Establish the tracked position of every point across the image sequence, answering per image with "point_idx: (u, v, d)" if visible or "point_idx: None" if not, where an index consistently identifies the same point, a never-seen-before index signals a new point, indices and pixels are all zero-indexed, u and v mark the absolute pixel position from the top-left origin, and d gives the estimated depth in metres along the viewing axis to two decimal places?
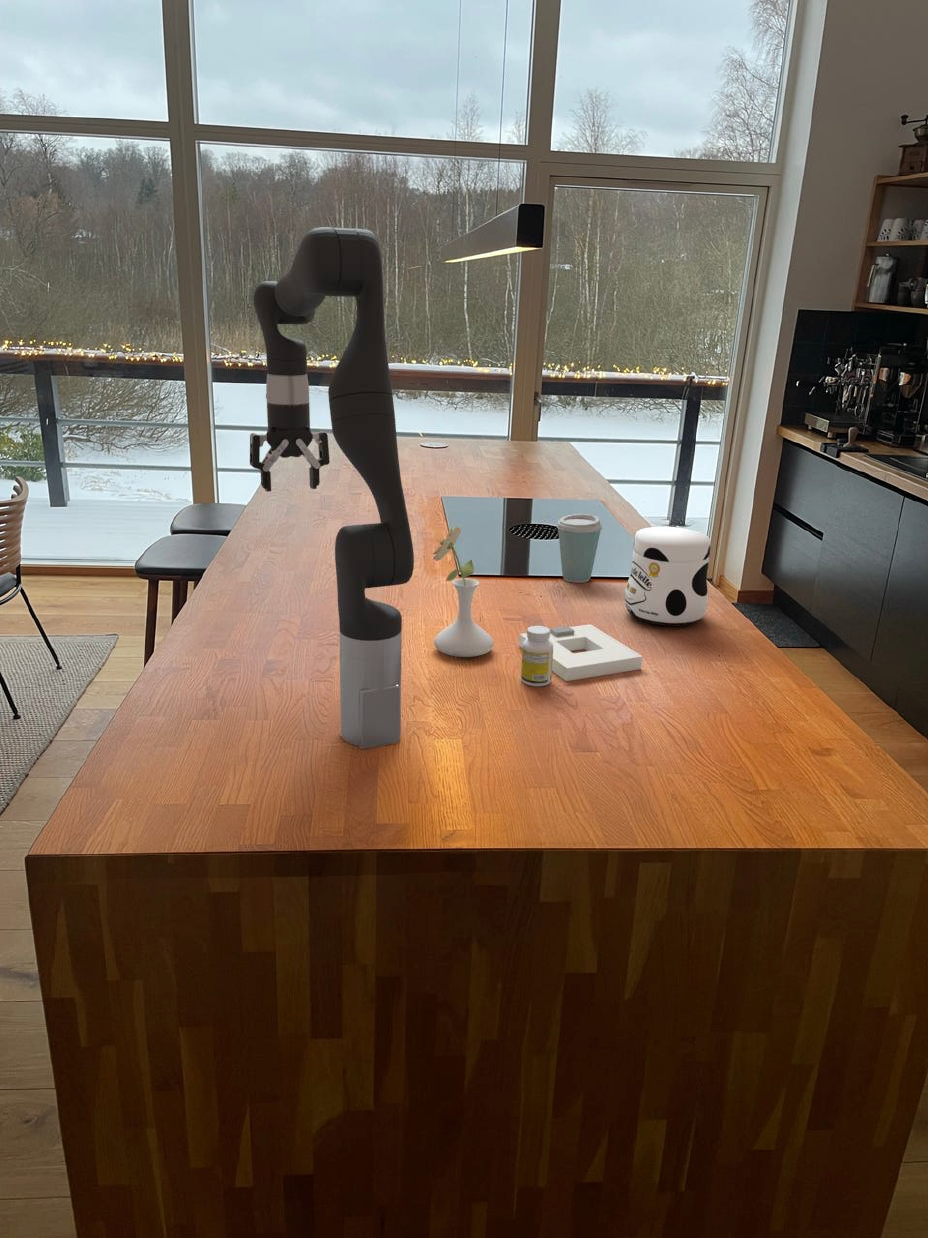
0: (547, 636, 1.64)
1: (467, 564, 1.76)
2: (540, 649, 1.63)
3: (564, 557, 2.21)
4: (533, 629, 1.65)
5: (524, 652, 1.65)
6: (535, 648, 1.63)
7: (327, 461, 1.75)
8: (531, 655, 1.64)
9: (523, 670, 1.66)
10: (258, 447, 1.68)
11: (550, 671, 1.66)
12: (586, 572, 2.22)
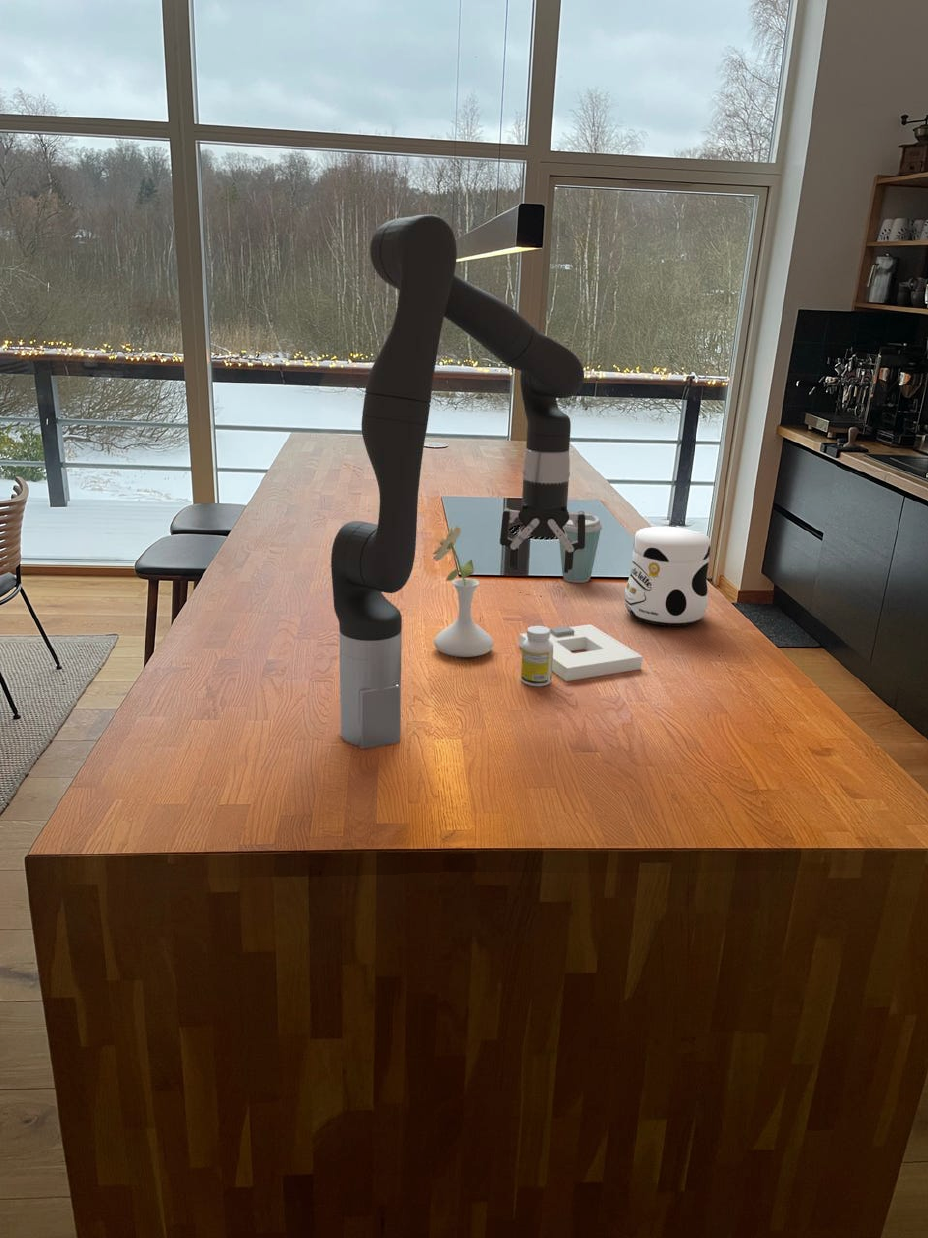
0: (547, 636, 1.64)
1: (467, 564, 1.76)
2: (540, 649, 1.63)
3: (564, 557, 2.21)
4: (533, 629, 1.65)
5: (524, 652, 1.65)
6: (535, 648, 1.63)
7: None
8: (531, 655, 1.64)
9: (523, 670, 1.66)
10: None
11: (550, 671, 1.66)
12: (586, 572, 2.22)
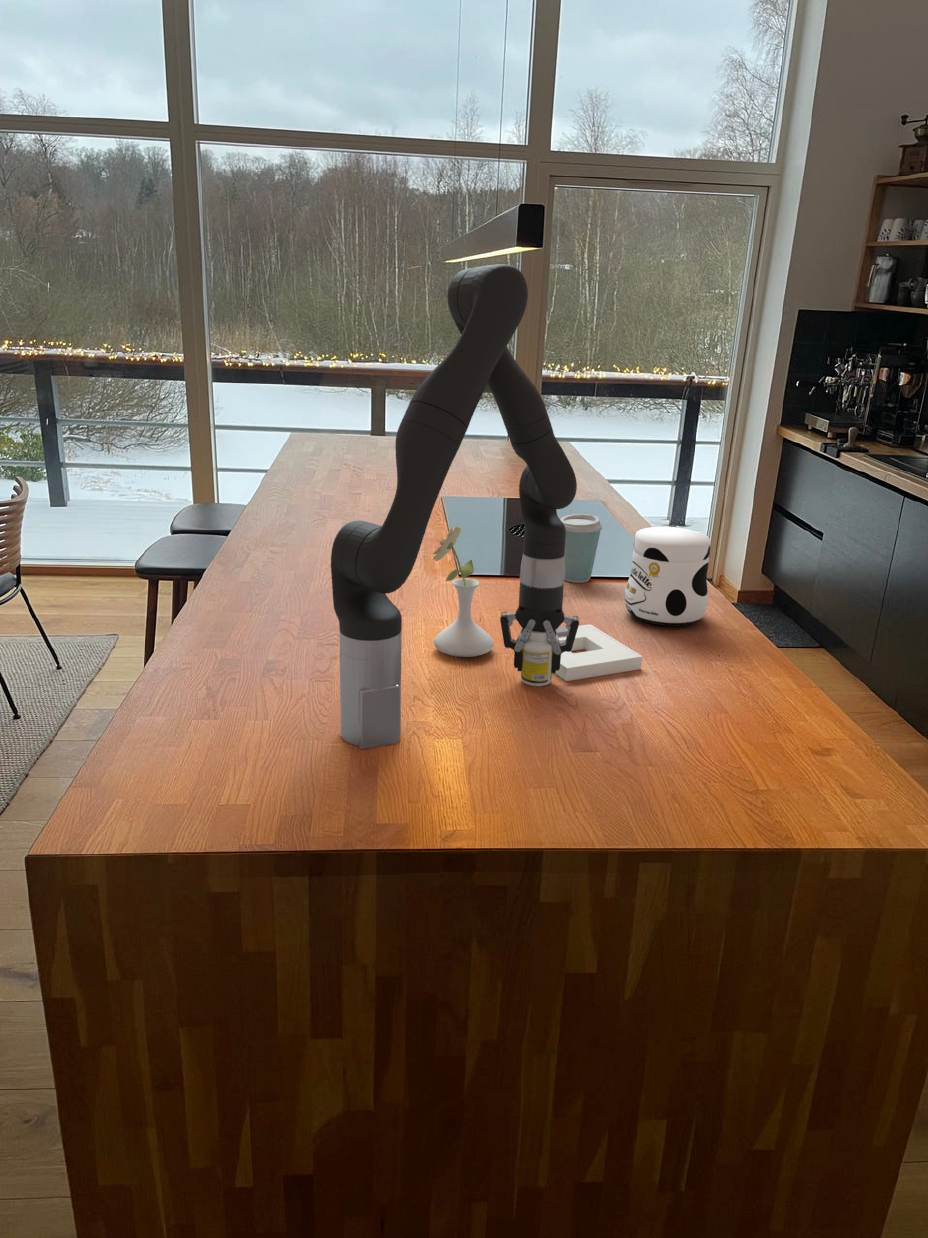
0: (547, 636, 1.64)
1: (467, 564, 1.76)
2: (540, 649, 1.63)
3: (564, 557, 2.21)
4: None
5: (524, 652, 1.65)
6: (535, 647, 1.63)
7: None
8: (531, 655, 1.64)
9: (523, 670, 1.66)
10: None
11: (550, 671, 1.66)
12: (586, 572, 2.22)
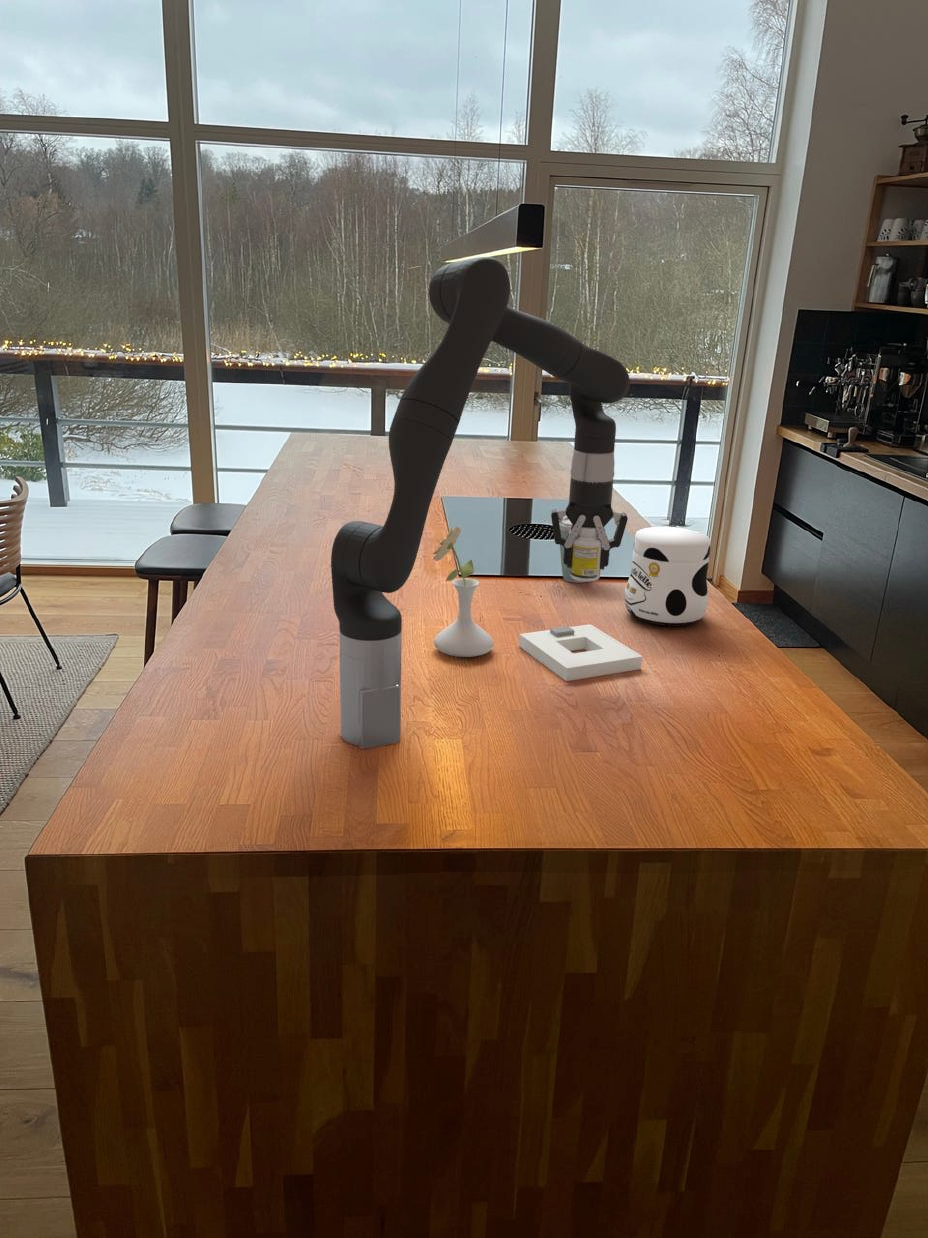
0: None
1: (467, 564, 1.76)
2: (590, 544, 1.69)
3: None
4: None
5: (574, 547, 1.71)
6: (585, 542, 1.69)
7: None
8: (581, 550, 1.69)
9: (573, 566, 1.72)
10: None
11: (599, 567, 1.72)
12: None
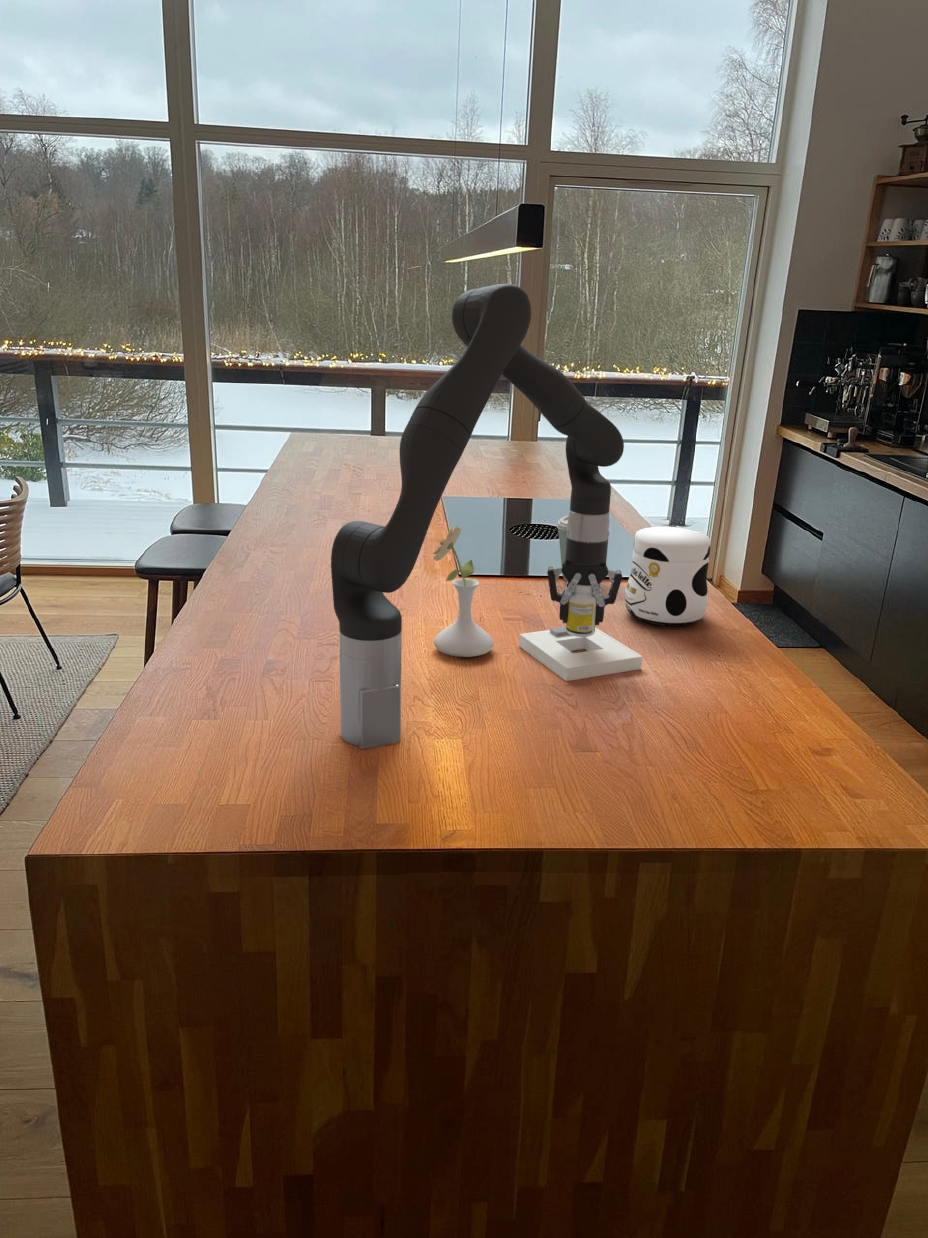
0: (592, 589, 1.73)
1: (467, 564, 1.76)
2: (585, 601, 1.73)
3: (564, 557, 2.21)
4: None
5: (569, 604, 1.74)
6: (581, 600, 1.73)
7: None
8: (577, 607, 1.73)
9: (568, 622, 1.75)
10: None
11: (594, 623, 1.75)
12: None
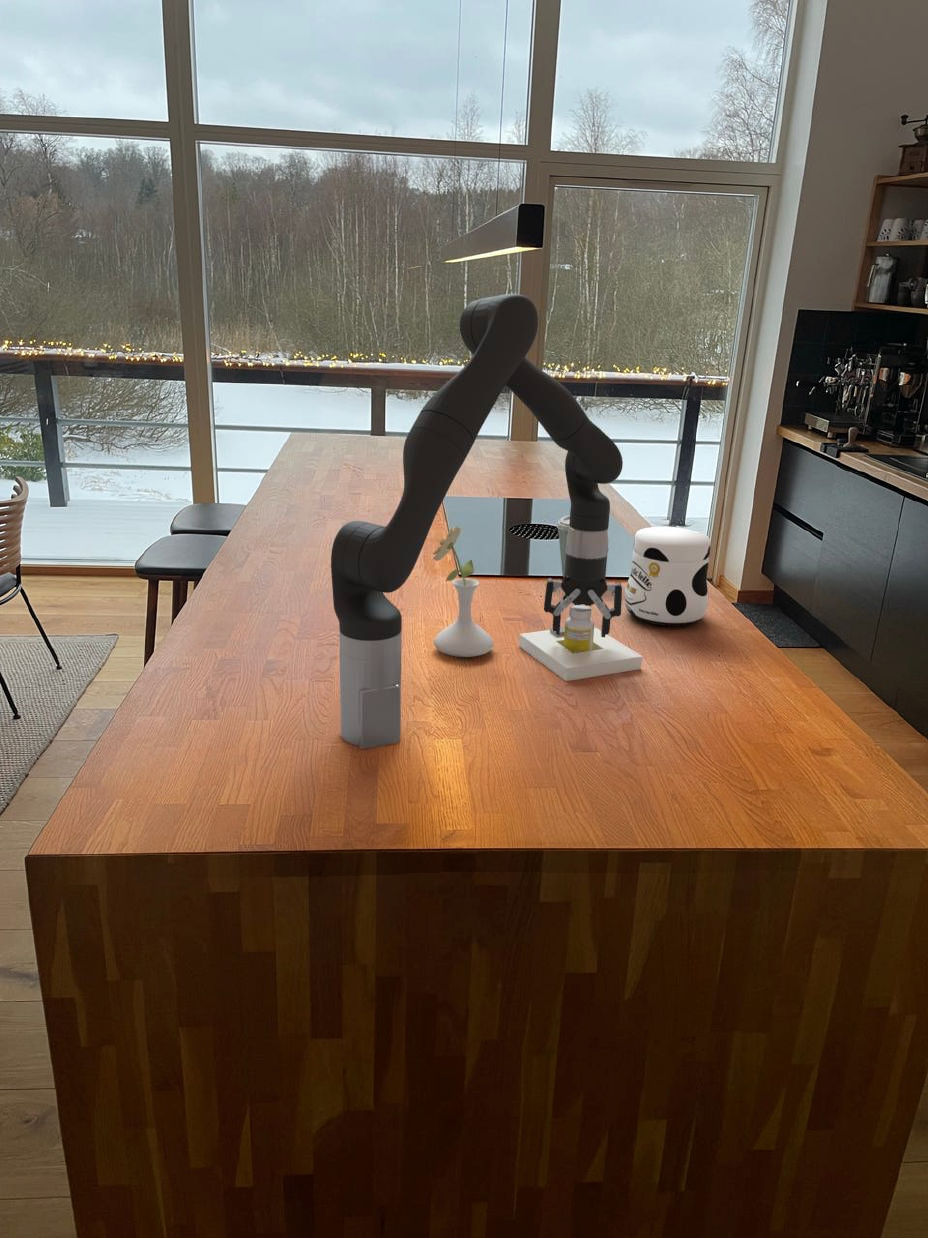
0: (589, 615, 1.75)
1: (467, 564, 1.76)
2: (582, 626, 1.74)
3: (564, 557, 2.21)
4: (575, 608, 1.76)
5: (566, 629, 1.76)
6: (578, 625, 1.74)
7: None
8: (574, 632, 1.75)
9: (566, 647, 1.77)
10: None
11: (591, 648, 1.77)
12: None
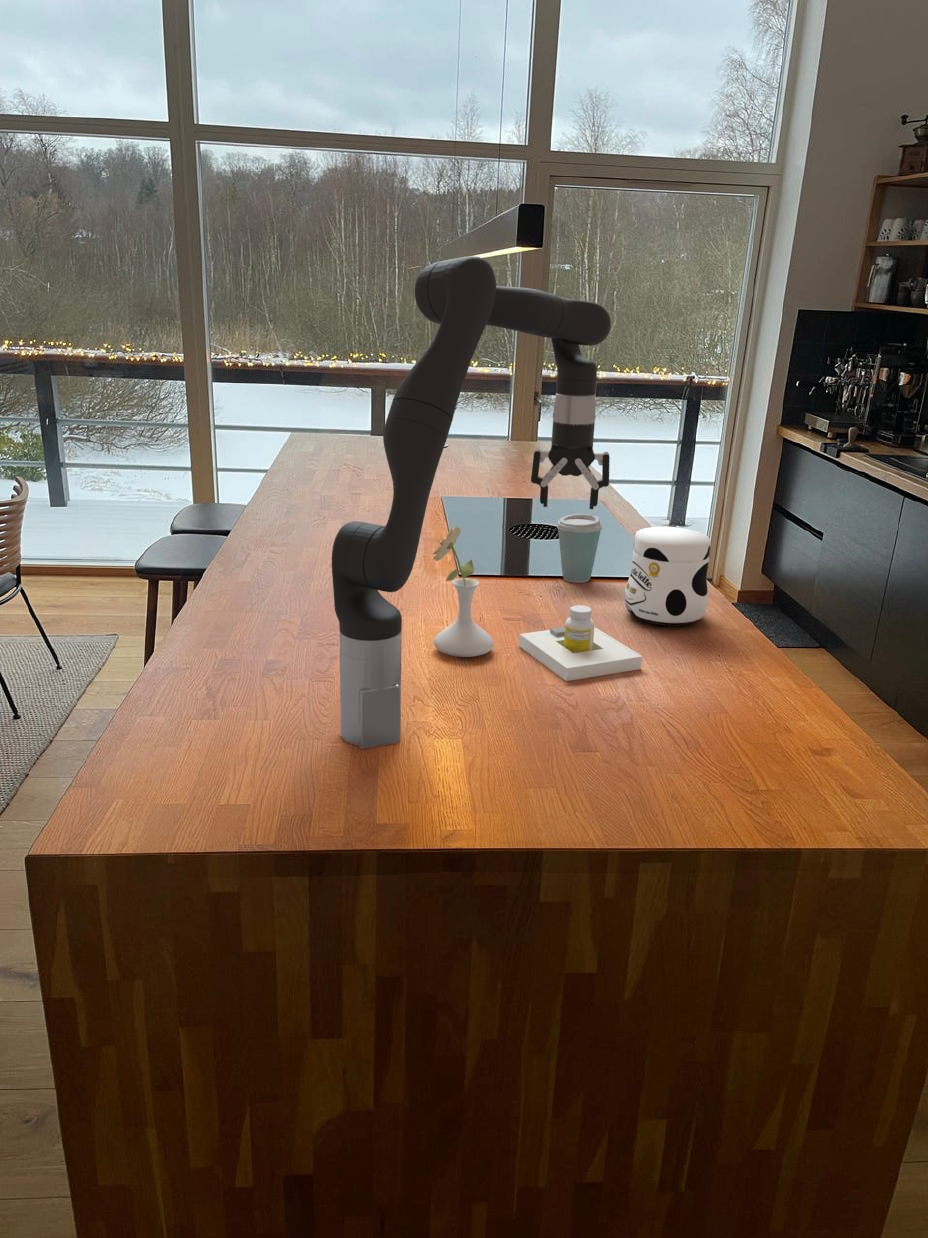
0: (589, 615, 1.75)
1: (467, 564, 1.76)
2: (583, 626, 1.74)
3: (564, 557, 2.21)
4: (576, 608, 1.76)
5: (567, 629, 1.76)
6: (578, 625, 1.74)
7: None
8: (574, 632, 1.75)
9: (566, 647, 1.77)
10: None
11: (591, 648, 1.77)
12: (586, 572, 2.22)
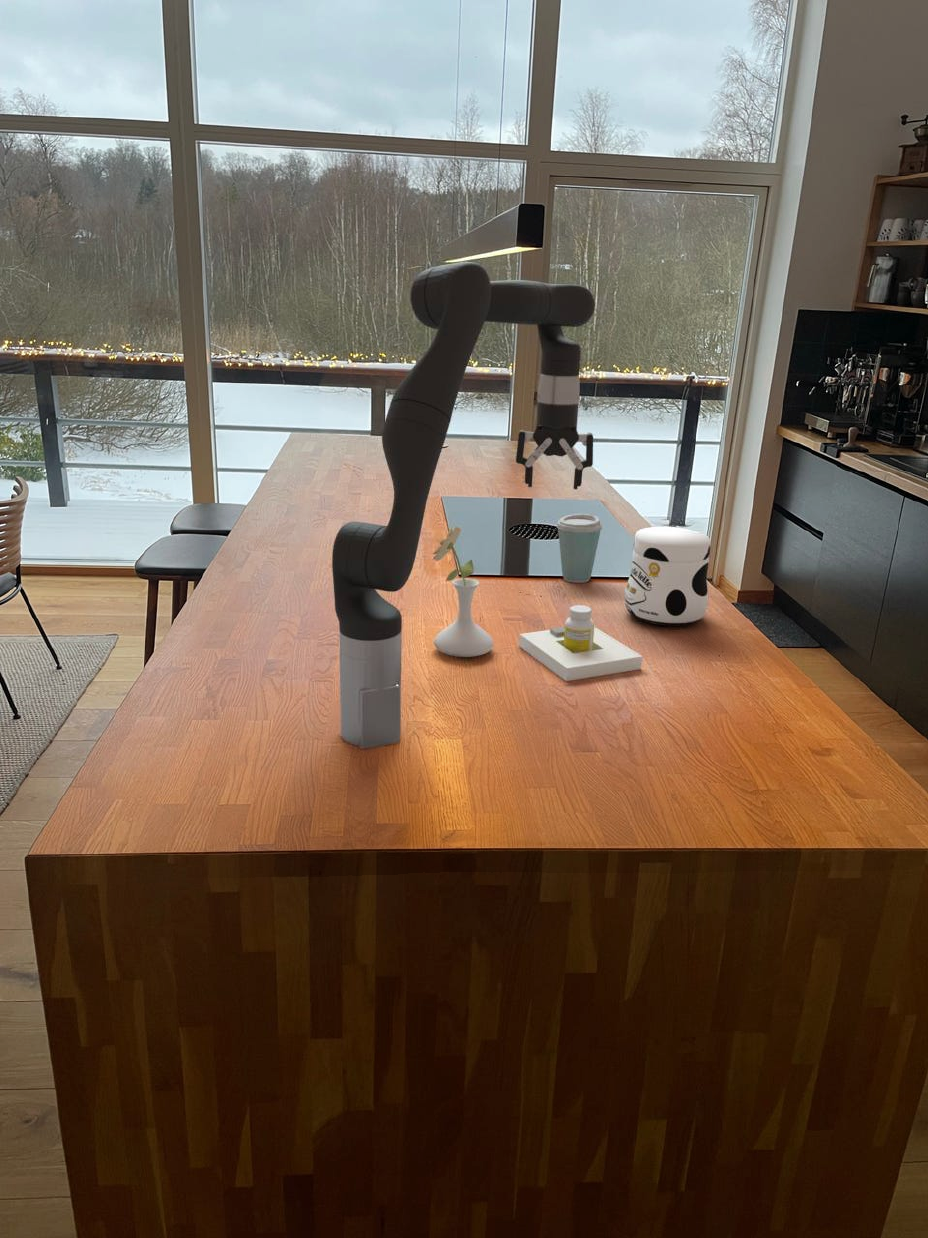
0: (589, 615, 1.75)
1: (467, 564, 1.76)
2: (582, 626, 1.74)
3: (564, 557, 2.21)
4: (575, 608, 1.76)
5: (566, 629, 1.76)
6: (578, 625, 1.74)
7: None
8: (574, 632, 1.75)
9: (566, 647, 1.77)
10: None
11: (591, 648, 1.77)
12: (586, 572, 2.22)
